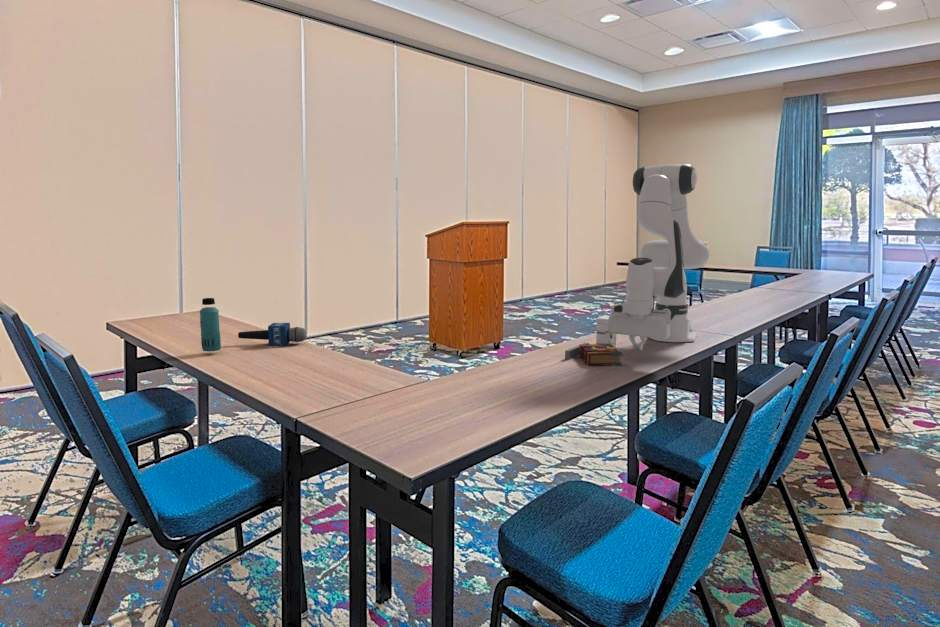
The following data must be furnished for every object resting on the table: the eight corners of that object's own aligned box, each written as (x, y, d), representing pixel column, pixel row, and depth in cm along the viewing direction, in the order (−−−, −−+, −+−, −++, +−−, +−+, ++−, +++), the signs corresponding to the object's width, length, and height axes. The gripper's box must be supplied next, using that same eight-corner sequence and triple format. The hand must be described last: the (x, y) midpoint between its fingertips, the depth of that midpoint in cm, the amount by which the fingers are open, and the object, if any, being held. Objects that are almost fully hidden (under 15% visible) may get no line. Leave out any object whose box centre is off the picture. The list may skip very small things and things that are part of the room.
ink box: (608, 351, 227) (609, 319, 225) (595, 349, 230) (596, 317, 228) (616, 346, 234) (617, 315, 232) (603, 345, 237) (604, 314, 235)
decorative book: (587, 366, 205) (588, 351, 204) (577, 355, 221) (578, 341, 220) (622, 366, 206) (622, 351, 205) (609, 355, 221) (610, 341, 221)
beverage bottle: (218, 351, 228) (215, 296, 224) (224, 354, 222) (220, 298, 219) (199, 353, 224) (195, 297, 220) (204, 356, 218) (201, 299, 215)
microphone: (241, 323, 241) (307, 322, 242) (242, 342, 242) (308, 342, 243) (235, 326, 233) (303, 326, 235) (236, 347, 234) (304, 346, 236)
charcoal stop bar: (584, 350, 228) (585, 342, 227) (588, 351, 227) (589, 343, 226) (565, 359, 215) (565, 350, 214) (568, 359, 214) (569, 351, 213)
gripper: (673, 309, 202) (671, 351, 204) (613, 304, 214) (612, 343, 216) (667, 312, 197) (665, 355, 199) (606, 306, 209) (605, 347, 211)
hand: (637, 349), depth 208 cm, fingers closed
